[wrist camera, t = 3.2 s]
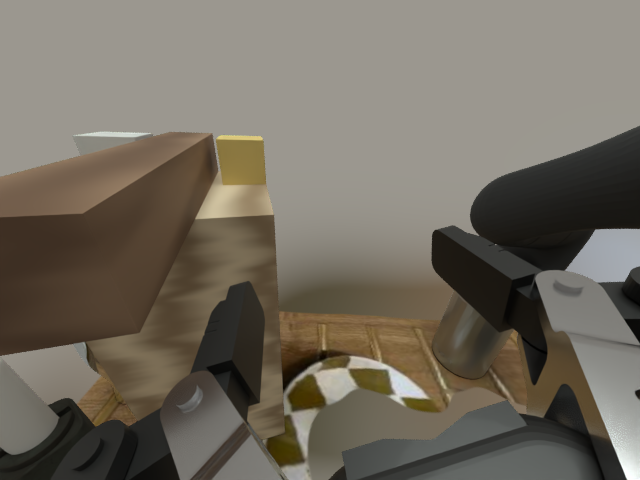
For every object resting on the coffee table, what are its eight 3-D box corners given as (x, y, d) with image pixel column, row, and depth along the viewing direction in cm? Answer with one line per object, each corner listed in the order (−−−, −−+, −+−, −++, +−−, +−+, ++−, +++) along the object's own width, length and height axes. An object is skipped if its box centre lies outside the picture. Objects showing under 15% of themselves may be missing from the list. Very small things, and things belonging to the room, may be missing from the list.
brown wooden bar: (218, 171, 26) (212, 133, 25) (139, 333, 7) (83, 213, 5) (179, 171, 25) (170, 131, 24) (-35, 361, 6) (-184, 225, 4)
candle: (60, 498, 25) (-153, 350, 13) (116, 449, 29) (-10, 300, 17) (76, 540, 23) (-166, 406, 11) (135, 480, 27) (3, 333, 15)
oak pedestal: (274, 344, 43) (262, 171, 28) (284, 433, 31) (274, 214, 16) (192, 361, 39) (126, 172, 24) (168, 467, 28) (11, 229, 12)
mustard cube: (263, 174, 26) (261, 136, 24) (266, 184, 23) (263, 140, 21) (226, 175, 25) (220, 135, 23) (223, 185, 22) (215, 139, 20)
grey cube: (163, 176, 24) (152, 133, 22) (149, 186, 20) (134, 137, 18) (117, 176, 22) (101, 131, 21) (94, 188, 19) (72, 135, 17)
